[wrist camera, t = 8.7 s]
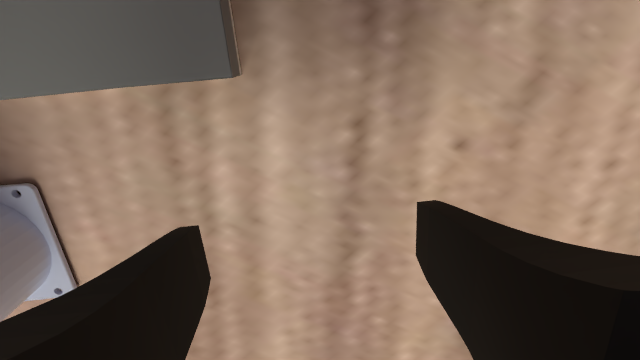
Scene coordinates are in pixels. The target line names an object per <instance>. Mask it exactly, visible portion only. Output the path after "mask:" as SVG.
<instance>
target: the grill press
mask: <svg viewBox="0 0 640 360" xmlns="http://www.w3.org/2000/svg"><path fill="white" fill-rule="evenodd" d="M229 76H231V71H230V65H229V59H228V53H227V47H226V41H225V34H224V28H223V22H222V16H221V10H220V4H219V0H0V100H6V99H16V98H26V97H35V96H45V95H55V94H64V93H74V92H84V91H93V90H103V89H113V88H122V87H132V86H142V85H151V84H161V83H171V82H180V81H190V80H200V79H209V78H219V77H229Z"/></svg>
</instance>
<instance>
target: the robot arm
mask: <svg viewBox="0 0 640 360" xmlns="http://www.w3.org/2000/svg"><path fill="white" fill-rule="evenodd" d="M17 190H18V191H19V192H20V193H21V195H19V194H18V193H17ZM416 256H417V259H418V261H419V264H420V266H421V269H422V271H423V273H424V275H425V278H426V280H427V281H428V283H429V285H430V287H431V288H432V290H433V292H434V293H435V295H436V296H437V298H438V300H439V301H440V303H441V305H442V306H443V308H444V309H445V311H446V313H447V314H448V316H449V317H450V319H451V321H452V322H453V324H454V326H455V327H456V329H457V330H458V332H459V334H460V335H461V337H462V339H463V340H464V342H465V344H466V346H467V348H468V349H469V351H470V353H471V355H472V358H473V360H640V256H634V255H627V254H621V253H614V252H608V251H603V250H597V249H592V248H587V247H582V246H577V245H572V244H568V243H563V242H559V241H555V240H552V239H548V238H544V237H540V236H536V235H533V234H530V233H526V232H523V231H520V230H517V229H514V228H511V227H508V226H505V225H502V224H499V223H496V222H494V221H491V220H488V219H486V218H483V217H480V216H478V215H475V214H473V213H470V212H468V211H465V210H463V209H460V208H458V207H455V206H452V205H450V204H447V203H444V202H441V201H436V200H433V201H423V202H417V230H416ZM210 280H211V277H210V272H209V268H208V264H207V260H206V255H205V251H204V247H203V243H202V238H201V234H200V230H199V225H197V226H188V227H179V228H177V229H175V230H173V231H171V232H169V233H168V234H166V235H164V236H163V237H161V238H159V239H158V240H156V241H155V242H153V243H152V244H150V245H148V246H147V247H145V248H144V249H142V250H141V251H139V252H138V253H136V254H134V255H133V256H131V257H130V258H128V259H126V260H125V261H123V262H121V263H120V264H118V265H116V266H115V267H113V268H111V269H110V270H108V271H106V272H105V273H103V274H101V275H100V276H98V277H96V278H94V279H92V280H90V281H89V282H87V283H85V284H83V285H81V286H79V287H77V285H76V283H75V280H74V278H73V275H72V273H71V270H70V268H69V265H68V263H67V260H66V258H65V256H64V253H63V251H62V248H61V246H60V243H59V241H58V238H57V236H56V233H55V231H54V228H53V226H52V223H51V221H50V219H49V216H48V214H47V211H46V209H45V206H44V204H43V201H42V199H41V196H40V194H39V191H38V189H37V188H36V187H35V186H34V185H33V184H30V183H22V184H12V185H1V186H0V360H185V359H186V356H187V353H188V351H189V348H190V345H191V343H192V340H193V337H194V335H195V332H196V329H197V327H198V324H199V321H200V318H201V316H202V313H203V310H204V307H205V304H206V299H207V295H208V290H209V285H210ZM58 288H60V289H61V290H62V291H61V290H59V289H58ZM49 298H55V299H53V300H50V301H48V302H46V303H44V304H41V305H39V306H37V307H34V308H32V309H30V310H27V311H25V312H23V313H20V314H18V315H16V316H13V317H11V318H9V319H6V320H4V319H5V318H6V317H7V316H8V315H9V314H10V313H12V312H13V311H14V310H15V309H16V308H17V307H18V306H19V305H20V304H21V303H23V302H24V301H31V300H40V299H49ZM3 320H4V321H3Z"/></svg>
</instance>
